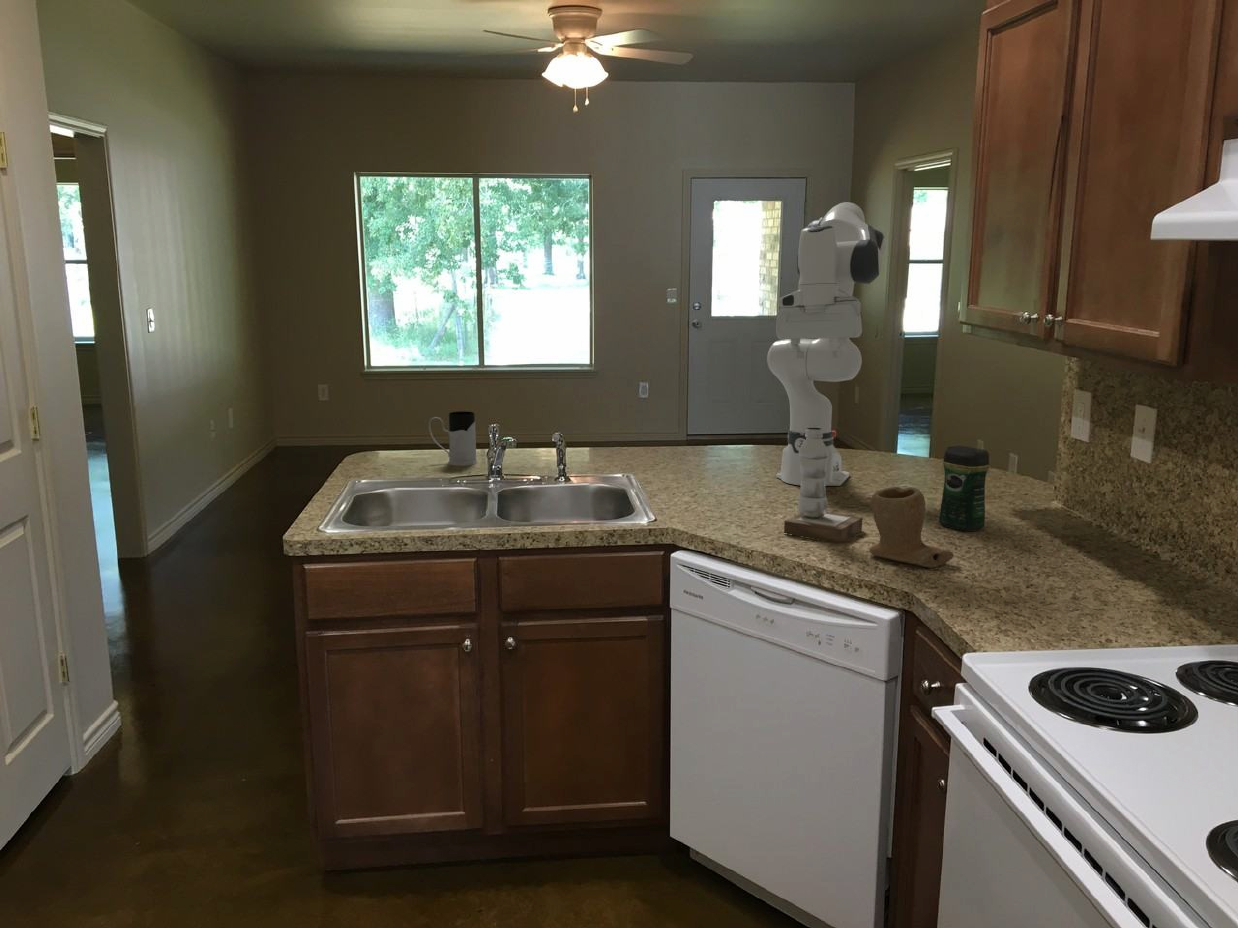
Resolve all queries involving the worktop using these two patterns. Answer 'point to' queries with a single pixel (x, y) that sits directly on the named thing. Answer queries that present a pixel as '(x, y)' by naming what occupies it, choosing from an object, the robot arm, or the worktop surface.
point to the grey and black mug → (460, 438)
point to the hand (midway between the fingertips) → (818, 358)
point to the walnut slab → (824, 527)
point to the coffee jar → (964, 488)
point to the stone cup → (903, 528)
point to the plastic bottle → (813, 474)
